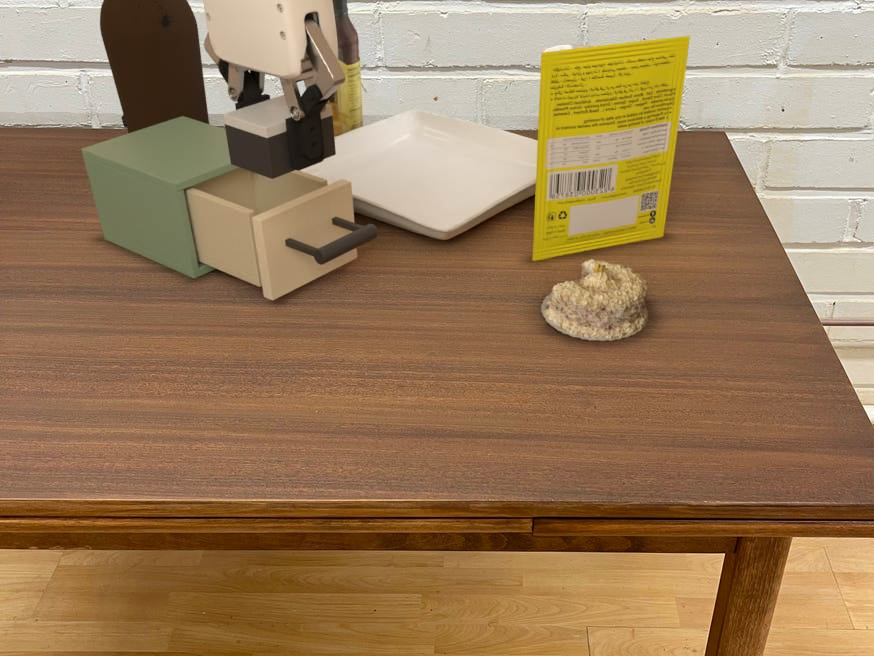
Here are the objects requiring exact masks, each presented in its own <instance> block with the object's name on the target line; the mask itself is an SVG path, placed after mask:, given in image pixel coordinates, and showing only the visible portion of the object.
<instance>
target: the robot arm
mask: <svg viewBox="0 0 874 656" xmlns="http://www.w3.org/2000/svg"><path fill="white" fill-rule="evenodd" d="M203 7H204V15H205V22H206V27H207V33H206V36H205V39H204V42H203V47H204V50H205V52H206V53H207V54H208V56H209V57H210V59H211V60H212V61H213V62H214V64H215V65H216V66H217V68H218V72H219V74H220V75H221V76H222V78H223V80H224V82H225V83H226V84H227V94H228V97H229V98H230V100H231V101H232V102H234V106H235V110H238V109H241V108H244V107H247V106H250V105H254V104H257V103H260V102H263V101H266V100H269V99H271V95H270V94H268V93H264V91H265V80H266V75H268V76H271V77H275V78H279V82H280V85H281V89H282V92H283V95H285V98H286V102H287V105H288V109H289V112H290V115H291V117H290V118H287V119H285V121H286V130H287V131H286V132H287V139H288V147H289V156H290V164H291V167H292V169H295V170H298V171H299V170H302V169H304V168H307V167H310V166H312V165H315V164H317V163H320V162H322V161H323V160H324V157H325V155H324V145H323V134H322V124H321V112H324V111H325V110H326V104H327V102H328V101H329V100H330V98H331V97H332V95H333V93H334V92H335V91H336V90H337V89H338V88H339V87H340V86H341V85H342V84H343V83H344V82H345V74H344V72H343V70H342V68H341V67H340V65H339V63H338V43H337V33H336V24H335V16H334V8H333V2H332V0H203ZM300 82H303V83H304V86H305V90H304V92H303V93H302V95H301V92H300V90H299V86H298V83H300ZM263 93H264V94H263Z"/></svg>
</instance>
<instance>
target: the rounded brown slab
mask: <svg viewBox="0 0 874 656" xmlns="http://www.w3.org/2000/svg"><path fill="white" fill-rule="evenodd" d="M99 29H100V35H101V39H102V42H103V46H104V50H105V52H106V57H107V60H108V63H109V68H110V71H111V74H112V78H113V82H114V85H115V88H116V93H117V96H118V99H119V104H120V107H121V110H122V114H123V115H122V116H121V121H122V125H123V127H124V128H126V130H127V134H129V133H132V132H135V131H138V130H141V129H144V128H147V127H150V126H153V125H156V124H160V123H163V122H166V121H169V120H172V119H175V118H178V117H181V116H184V117H188V118H191V119H194V120H197V121H200V122H203V123H206V124H210V119H209V118H210V117H209V111H208V103H207V94H206V86H205V78H204V70H203V63H202V62H203V61H202V53H201V44H200V36H199V35H200V34H199V27H198V23H197V18H196V16H195V14H194V12H193V9H192V7H191V5H190V3H189V1H188V0H103V1H102V3H101V7H100V13H99Z"/></svg>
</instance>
